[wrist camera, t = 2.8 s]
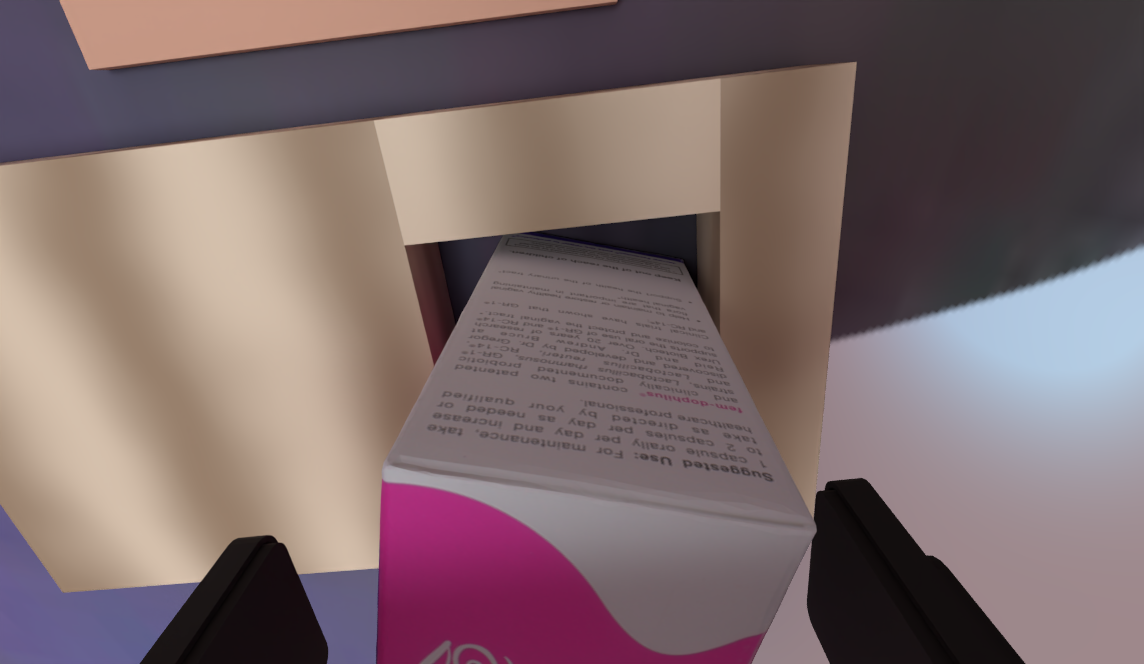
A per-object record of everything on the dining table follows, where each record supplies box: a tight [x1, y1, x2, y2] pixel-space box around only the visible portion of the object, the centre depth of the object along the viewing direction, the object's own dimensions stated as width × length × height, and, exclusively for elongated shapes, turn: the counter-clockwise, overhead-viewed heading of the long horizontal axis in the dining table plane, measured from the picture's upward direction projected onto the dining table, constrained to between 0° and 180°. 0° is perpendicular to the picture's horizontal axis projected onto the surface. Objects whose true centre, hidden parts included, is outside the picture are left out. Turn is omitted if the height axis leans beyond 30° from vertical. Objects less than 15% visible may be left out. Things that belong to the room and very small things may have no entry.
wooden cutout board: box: [0, 62, 857, 593], centre depth 17 cm, size 26×14×3 cm, turn 96°
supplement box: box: [376, 232, 817, 664], centre depth 13 cm, size 6×6×12 cm
